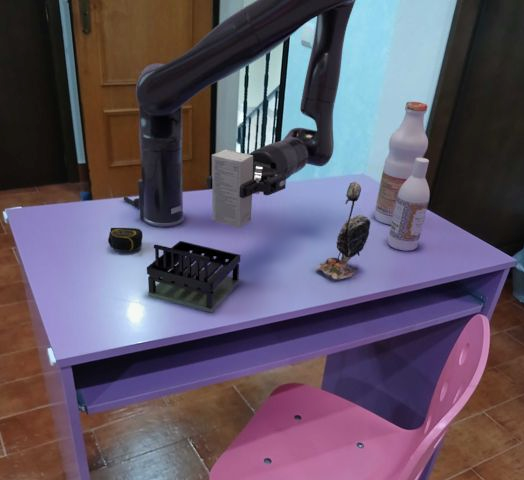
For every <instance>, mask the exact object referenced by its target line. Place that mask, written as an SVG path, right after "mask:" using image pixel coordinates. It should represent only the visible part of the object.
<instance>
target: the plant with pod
mask: <svg viewBox="0 0 524 480" xmlns="http://www.w3.org/2000/svg"><path fill="white" fill-rule="evenodd" d="M361 192H362V186H361V185H360V183H358V182H356V181H353V182H350V183H349V186H348V188H347V190H346V195H345V196H346V200H345V205H347V204H348V203H349V202H352V203H351V207H350V211H349V215H348V219H347V220H346V221H345V223H344V224H343V225H342V227H341V228H340V231H339V233H338V234H337V236H336V237H337V239H336V249H337V250H338V251H339V252H338V253H339V254H338V256H337V257H329V258H327V259H326V261H324V262H322V263H319V265H318V266H317V267H316V268H315V270H316V271H322V272H321V273H323V274H324V275H325V276H327V277H328V278H329V279H330V280H335V281H336V280H337V281H338V280H342V279H346V278H352V277H353V276H354V274H355V273H356V272H357V269H358V268H357V267H352V266H349V265H348V262H349V261H350V259H351V258H353V257H355V256H356V255H357V256H360V252H362V250H363V249H364V247H365V245H366V243H367V240H368V237H369V235H370V228H371V227H370V226H371V220H370V219H369V217H368V216H364V215H361V214H359V215H356V216H353V217H352V215H353V210H354V206H355V203H356V202H357V201H358V200H359V198H360V197H361ZM371 219H373V217H371ZM341 255H342V256H341ZM340 256H341V258H340Z"/></svg>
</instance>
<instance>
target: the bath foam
mask: <svg viewBox="0 0 524 480" xmlns="http://www.w3.org/2000/svg"><path fill="white" fill-rule="evenodd" d="M429 163H430V160H429V159H428V158H425V157H423V158H416V159H415V163H414V167H413V172H412V175H411V176H410V177H409V178H408V179H407V180H406V181H405V182H404V184H403V185H402V186H401V188H400V190H399V193H398V196H397V201H396V205H395V210H394V214H393V219H392V223H391V225H390V228H389V229H390V230H389V232H388V233H389V234H388V238H387V244H388V245H389V246H390V247H391V248H393V249H396V250H398V251H404V252H409V251H414V250H416V249H417V247H418V245H419V241H420V238H421V233H422V229H423V225H424V221H425V218H426V214H427V211H428V206H429V203H430V196H431V192H430V187H429V184H428V181H427V179H426V175H427V171H428V167H429Z"/></svg>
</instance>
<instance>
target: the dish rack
mask: <svg viewBox="0 0 524 480" xmlns="http://www.w3.org/2000/svg"><path fill="white" fill-rule="evenodd" d="M153 249H154V255H155V257H154V258H155V260H154V261H152V263H150V264H149V265H147V266H146V275H148V277H147V283H148V293H147V296H148V297H150V298H154V299H158V300H162V301H165V302H168V303H173V304H176V305H180V306H183V307H187V308H190V309H191V308H192V309H195V310H199V311H202V312H206V313H210V314H212V313H213V312H214V311H215V310H216V309H217V307H219V305H220V304H221V303H222V302H223V301H225V299H226V298H227V297H228V295H229V294H230V293H232V291H233V290H234V289H235V288H236V286H237V285H238V284H240V275H239V274H240V264H239V263H240V262H241V257H242V256H241V254H238V253H234V252H229V251H226V250H220V249H217V248H212V247H208V246H205V245H199V244H195V243H191V242H187V241H183V240H179V241H178V242H177V243H175V244H174V245H173V246H172V247H168V246H164V245H161V244H154V245H153ZM160 251H162V254H161V256H160ZM231 273H232V276H229V274H231ZM156 283H157V284H156Z"/></svg>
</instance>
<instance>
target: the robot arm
mask: <svg viewBox="0 0 524 480" xmlns="http://www.w3.org/2000/svg"><path fill="white" fill-rule="evenodd" d="M355 3H356V0H255V1H253V2H252V3H250V4H247V5H246V6H244V7H243V8H241V9H240V10H238V11H236V12H234V13H233V14H232V15H230V16H229V17H227V18H226V19H224V20H223V21H222V22H220V23H219V24H218V25H216V26H215V27H214V28H213V29H212V30H211V31H209V32H208V33H207V34H206V35H205V36H204V37H203V38H202V39H200V41H199V42H198V43H196V45H194V46H193V47H192V48H191V49H189V50H188V51H187V52H185V53H183V54H182V55H180V56H178V57H176V58H174V59H172V60H171V61H168V63H165V64H164V63H160V62H159V63H156V62H155V63H151V64H149V65H147V66H146V67H145V68H144V69H143V70H142V71H141V72H140V73H139V76H138V79H137V81H136V85H135V98H136V101H137V104H138V116H139V120H138V121H139V126H138V127H139V128H138V129H139V130H138V137H139V139H138V140H139V153H140V154H139V155H140V172H141V173H140V174H141V178H139V179H138V181H137V186H138V189H137V190H138V198H137V197H136V198H134V199H133V200H132V199H131V198H129V197H127V196H124V197H123V201H125V202H127V203H128V204H130V205H132V206H134V207H137V210H139V220H141V221H143V222H144V223H146V224H148V225H150V226H153V227H159V228H168V227H175V226H178V225H180V224H182V223H183V222H184V198H183V197H184V196H183V194H184V193H183V192H184V190H183V188H184V185H183V107H182V106H183V105H184V104H186V103H187V102H188V101H190V100H191V99H193V98H194V97H195V96H196V95H198V94H200V92H202V91H203V90H204V89H206V88H208V87H209V86H211V85H213V84H215V83H217V82H219V81H222V80H223V79H226V78H227V77H229V76H231V75H233V74H235V73H237V72H238V71H240V70H242V69H244V68H245V67H248V66H250V65H251V64H253V63H254V62H256V61H258V60H260V59H262V57H264V56H266V55H268V54H269V53H271V52H273V50H275V49H276V48H277V47H279V46H280V45H281V44H283V43H284V42H285V41H287V40H288V39H289V38H290V37H291V36H292V35H294V34H295V33H296V32H297V31H298V30H300V28H302V27H303V26H304V25H306V24H307V23H308V22H310V21H311V20H313V19H315V18H316V21H315V22H316V23H315V29H314V37H313V41H312V46H311V52H310V56H309V61H308V65H307V69H306V73H305V74H306V75H305V79H304V85H303V90H302V94H301V95H302V96H301V99H300V100H301V101H300V108H299V109H300V113H301V114H302V115H303V116H306V117H308V118H310V119H312V120H313V121H314V123H315V126H316V130H314V129H310V128H305V127H294V128H291V129H290V130H289V131H288V133H287V134H286V135H285V137H284V138H283V139H281V140H279V141H275V142H272V143H269V144H266V145H264V146H262V147H259V148H257V149H255V150H253V151H251V152H250V153H249V155H253V178H252V180H250V181H248V182H246V183H244V184H242V185H241V186H240V192H239V196H240V197H241V198H245V197H247V196H250V195H252V196H253V195H260V193H263V196H271V195H272V194H276V193H277V192H281V191H283V190H285V189H286V184H287V179H289V178H290V177H291V176H293V175H294V174H296V173H298V172H300V171H301V170H303V169H304V168H305V167H306V166H307V165H310V166H314V167H325V166H326V165H327V164H328V163H329V162H330V161H331V159H332V157H333V154H334V148H335V147H334V145H335V141H334V109H335V103H336V99H337V93H338V89H339V83H340V78H341V69H342V68H341V67H342V61H343V59H342V58H343V49H344V41H345V36H346V31H347V27H348V23H349V21H350V17H351V14H352V12H353V8H354V6H355ZM210 168H211V171H210V175H208V176H207V177H206V186H207V189H210V190H212V167H210Z"/></svg>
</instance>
